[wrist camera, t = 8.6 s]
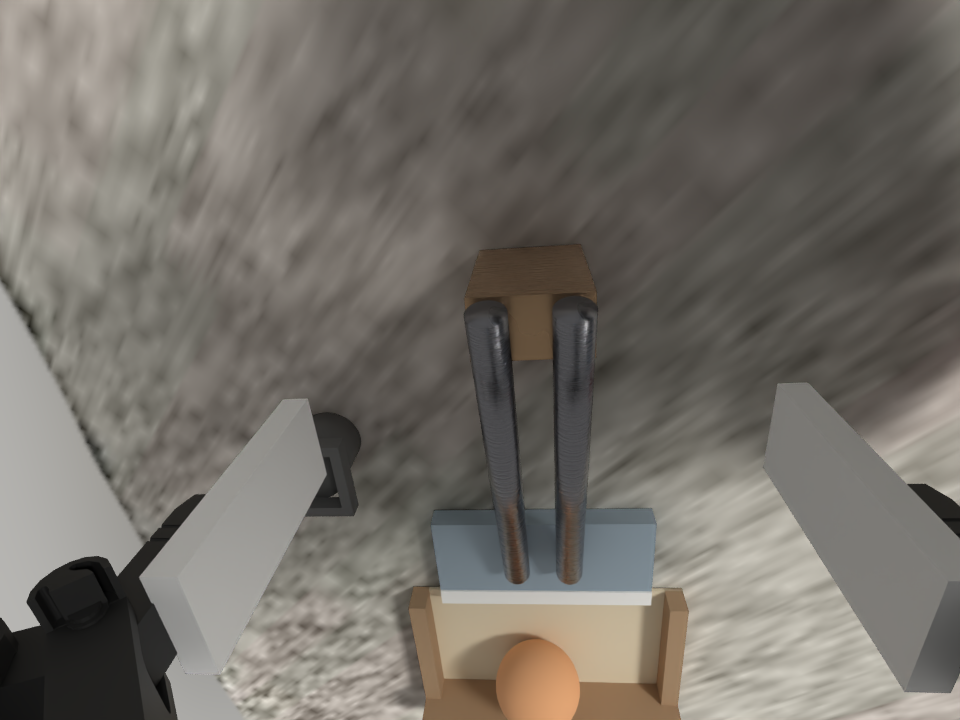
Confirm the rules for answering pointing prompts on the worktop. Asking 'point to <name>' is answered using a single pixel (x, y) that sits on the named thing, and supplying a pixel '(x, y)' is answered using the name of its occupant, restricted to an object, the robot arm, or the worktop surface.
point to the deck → (546, 559)
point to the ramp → (572, 345)
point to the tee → (336, 466)
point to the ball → (537, 682)
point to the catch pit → (575, 629)
